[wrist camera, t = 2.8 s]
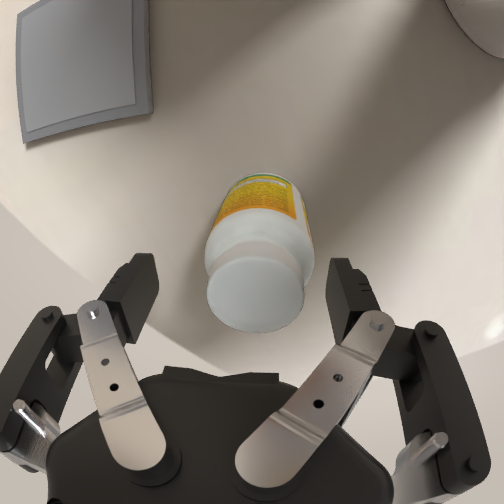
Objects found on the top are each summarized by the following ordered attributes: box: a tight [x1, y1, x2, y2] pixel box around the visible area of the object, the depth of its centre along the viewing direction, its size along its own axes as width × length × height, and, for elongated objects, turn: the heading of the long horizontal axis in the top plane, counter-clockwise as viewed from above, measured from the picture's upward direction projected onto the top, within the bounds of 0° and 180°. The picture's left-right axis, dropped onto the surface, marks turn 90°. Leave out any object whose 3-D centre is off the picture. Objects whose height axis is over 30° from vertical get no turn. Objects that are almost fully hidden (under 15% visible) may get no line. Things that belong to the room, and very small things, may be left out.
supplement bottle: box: [204, 173, 315, 333], centre depth 16 cm, size 5×5×10 cm
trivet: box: [16, 0, 153, 144], centre depth 14 cm, size 12×12×1 cm
